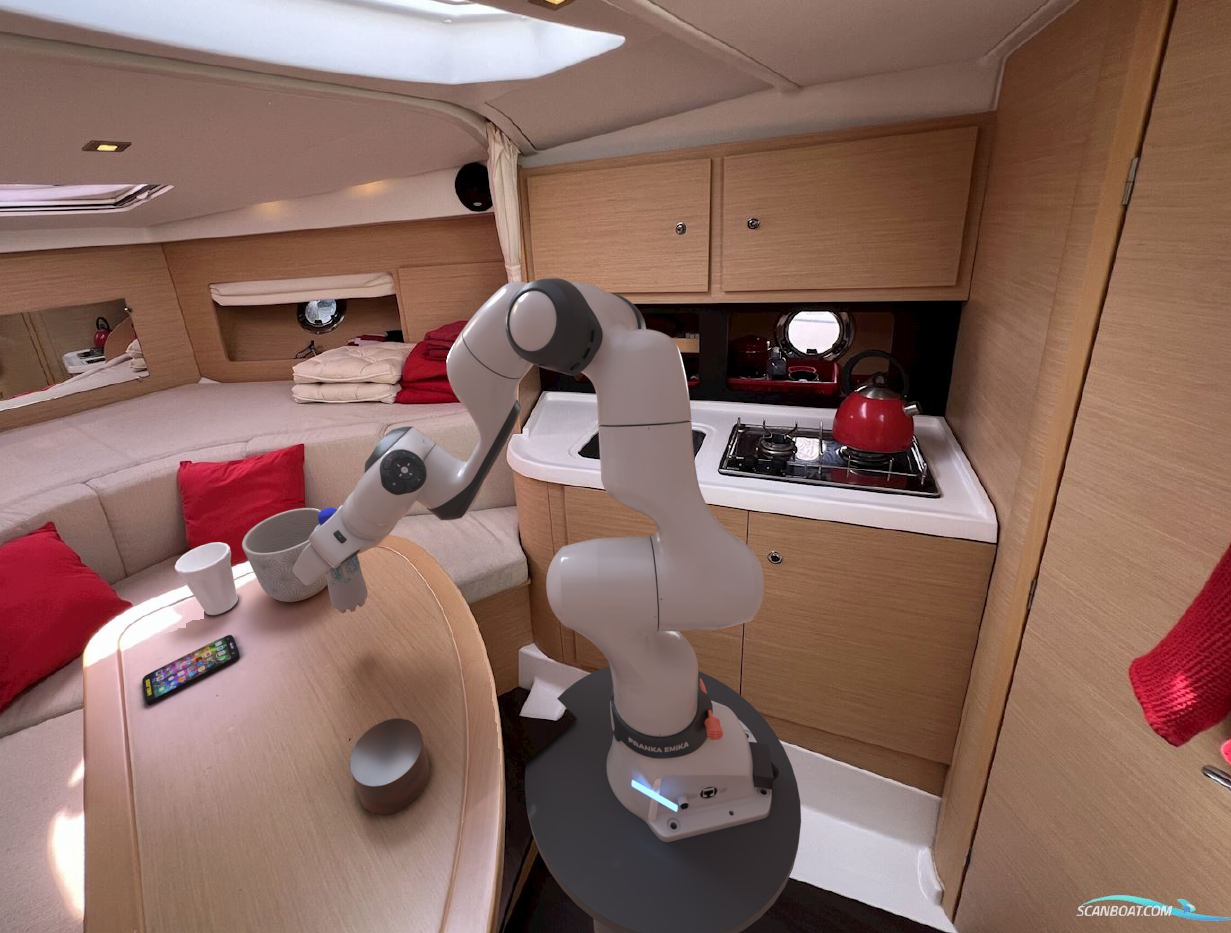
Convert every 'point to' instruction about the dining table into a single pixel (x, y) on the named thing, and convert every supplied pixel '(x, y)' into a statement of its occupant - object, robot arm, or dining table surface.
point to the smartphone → (189, 669)
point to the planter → (282, 553)
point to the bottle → (344, 578)
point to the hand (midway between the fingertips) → (337, 556)
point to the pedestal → (389, 766)
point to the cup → (209, 576)
